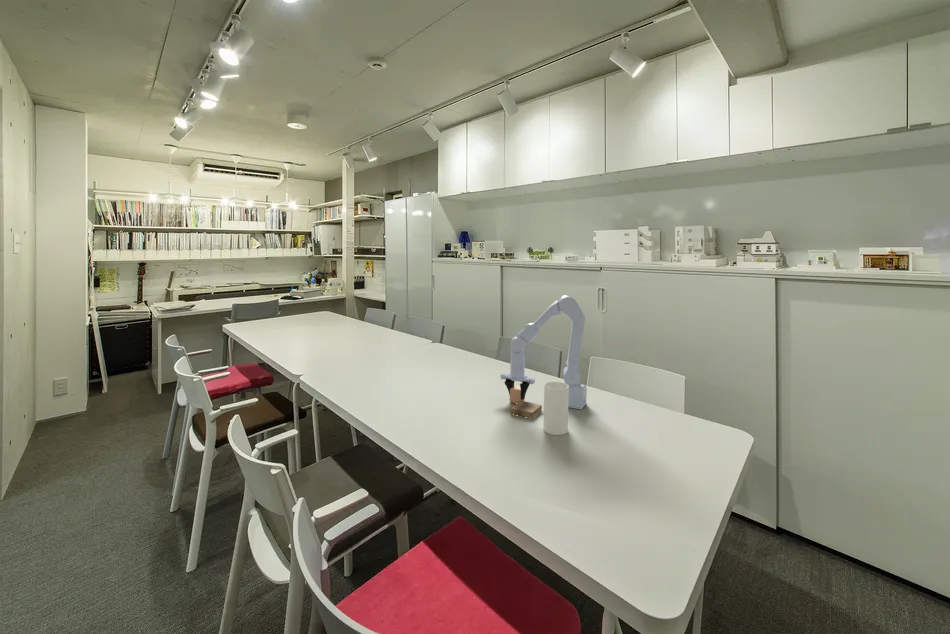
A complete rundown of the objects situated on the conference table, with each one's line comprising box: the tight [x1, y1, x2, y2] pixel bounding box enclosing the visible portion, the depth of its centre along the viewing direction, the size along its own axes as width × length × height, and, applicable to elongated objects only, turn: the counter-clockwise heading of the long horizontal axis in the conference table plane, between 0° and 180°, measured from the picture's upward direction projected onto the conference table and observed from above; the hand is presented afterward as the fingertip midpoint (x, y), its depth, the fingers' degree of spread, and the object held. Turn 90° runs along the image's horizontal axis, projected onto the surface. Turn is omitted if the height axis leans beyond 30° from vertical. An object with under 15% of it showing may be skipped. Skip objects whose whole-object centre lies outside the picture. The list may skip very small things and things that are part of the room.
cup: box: [543, 381, 569, 436], centre depth 139 cm, size 8×8×16 cm
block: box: [509, 385, 526, 404], centre depth 166 cm, size 4×4×6 cm
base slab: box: [509, 401, 543, 420], centre depth 155 cm, size 9×9×3 cm
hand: (517, 397), depth 166 cm, fingers closed on block, 4 cm apart
